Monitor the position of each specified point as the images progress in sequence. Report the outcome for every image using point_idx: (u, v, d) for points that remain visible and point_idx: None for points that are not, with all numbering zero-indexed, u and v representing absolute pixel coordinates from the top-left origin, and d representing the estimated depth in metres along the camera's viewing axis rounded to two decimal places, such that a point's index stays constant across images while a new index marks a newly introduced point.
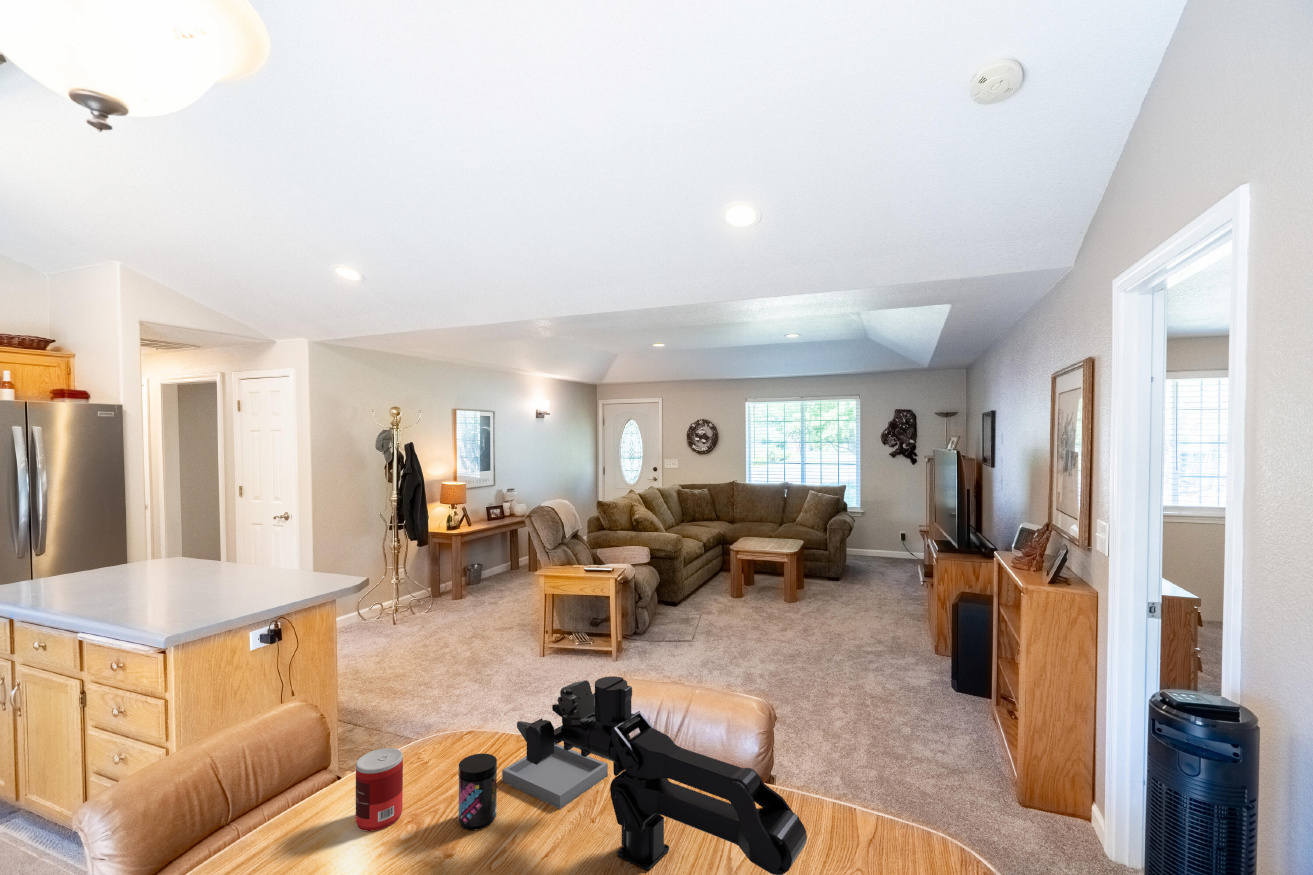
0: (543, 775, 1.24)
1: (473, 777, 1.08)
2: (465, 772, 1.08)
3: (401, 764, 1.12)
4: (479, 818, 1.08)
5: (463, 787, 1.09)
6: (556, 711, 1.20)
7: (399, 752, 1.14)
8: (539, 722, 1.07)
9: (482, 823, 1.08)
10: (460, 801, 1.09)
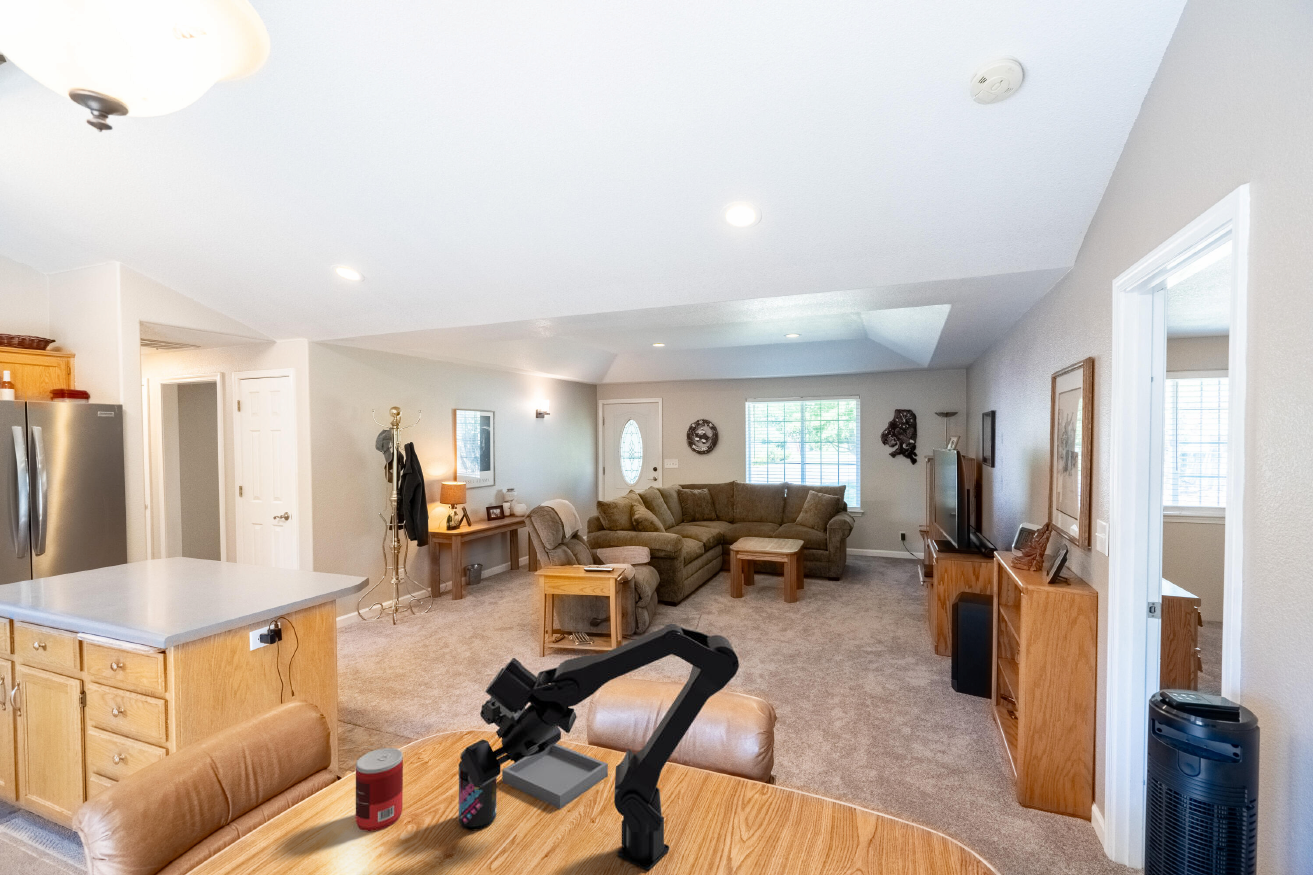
0: (543, 775, 1.24)
1: None
2: (465, 772, 1.08)
3: (401, 764, 1.12)
4: (479, 818, 1.08)
5: (463, 787, 1.09)
6: None
7: (399, 752, 1.14)
8: None
9: (482, 823, 1.08)
10: (460, 801, 1.09)
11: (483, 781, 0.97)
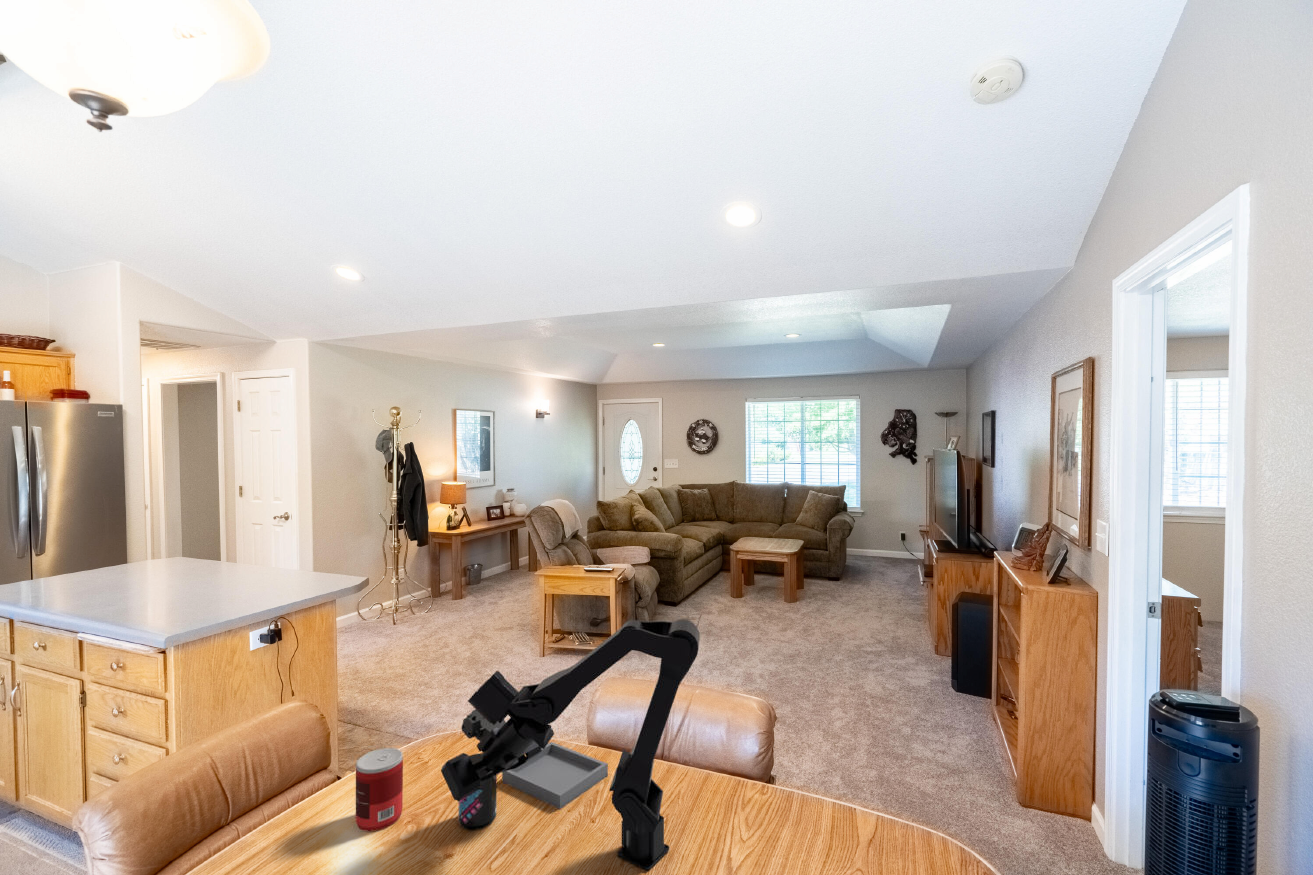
0: (543, 775, 1.24)
1: None
2: None
3: (401, 764, 1.12)
4: (479, 818, 1.08)
5: None
6: None
7: (399, 752, 1.14)
8: None
9: (482, 823, 1.08)
10: (460, 801, 1.09)
11: (462, 794, 1.00)
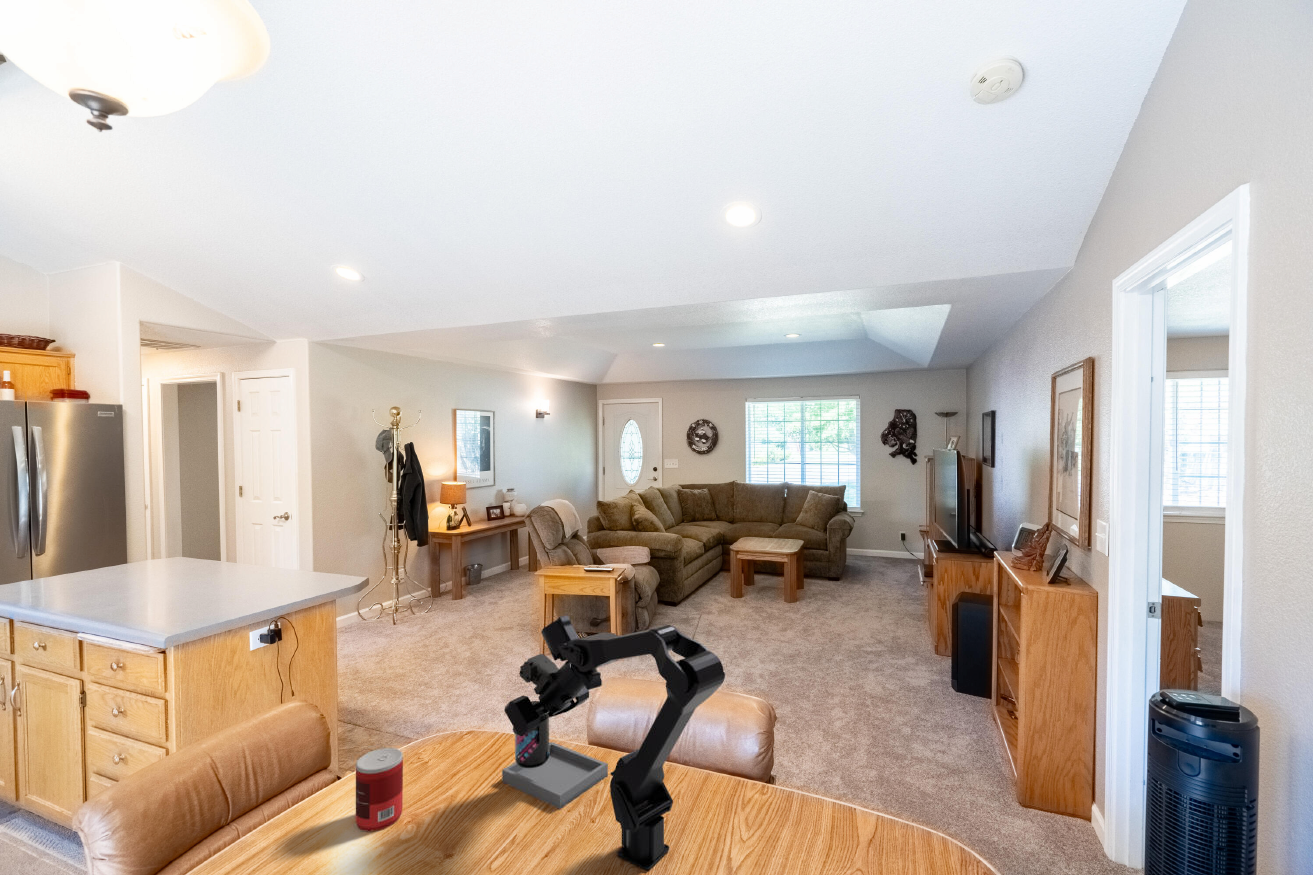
0: (543, 775, 1.24)
1: None
2: None
3: (401, 764, 1.12)
4: (535, 757, 1.18)
5: None
6: None
7: (399, 752, 1.14)
8: None
9: (538, 762, 1.19)
10: (517, 742, 1.19)
11: (526, 730, 1.10)
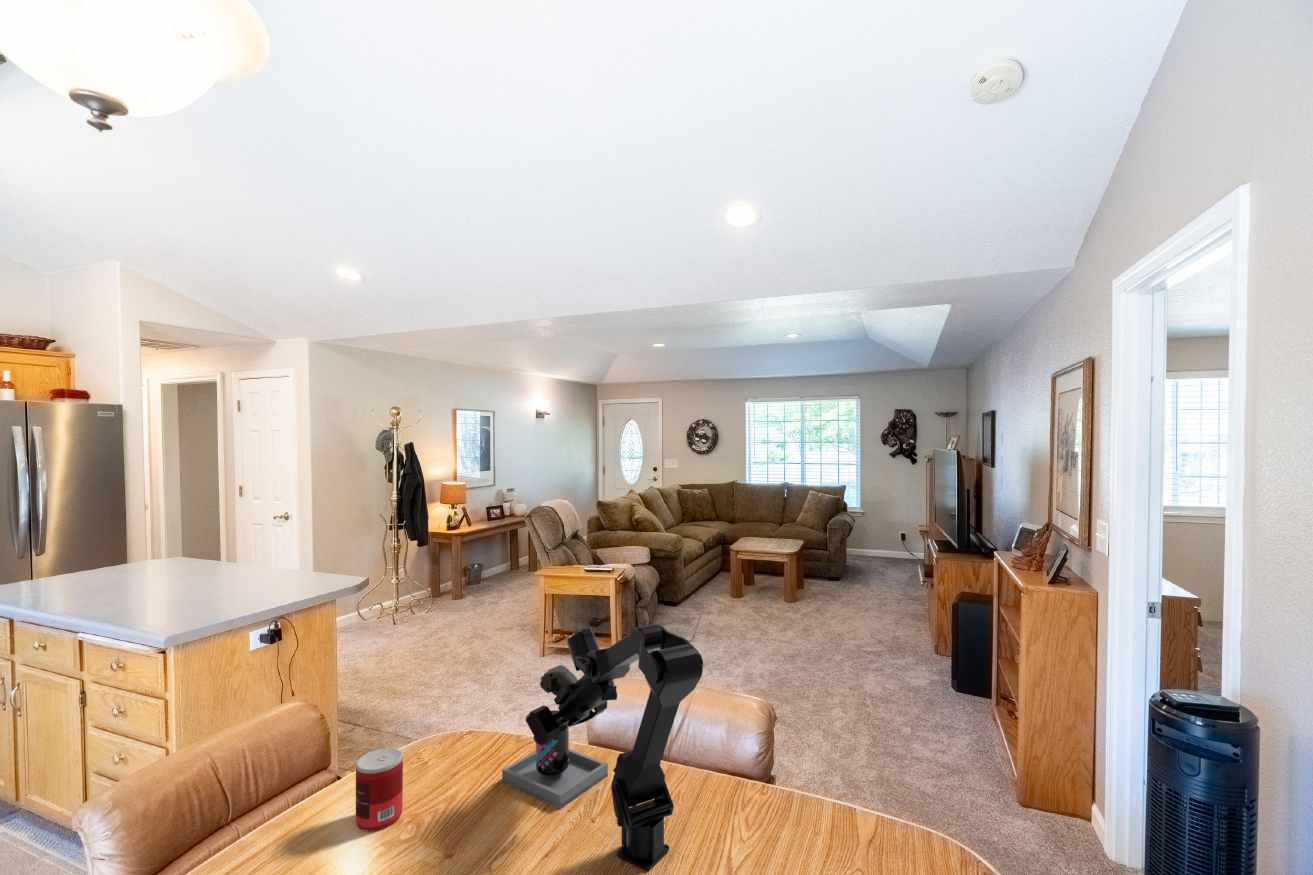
0: (543, 775, 1.24)
1: None
2: None
3: (401, 764, 1.12)
4: (555, 765, 1.22)
5: None
6: None
7: (399, 752, 1.14)
8: None
9: (558, 770, 1.22)
10: (538, 750, 1.23)
11: (546, 739, 1.14)
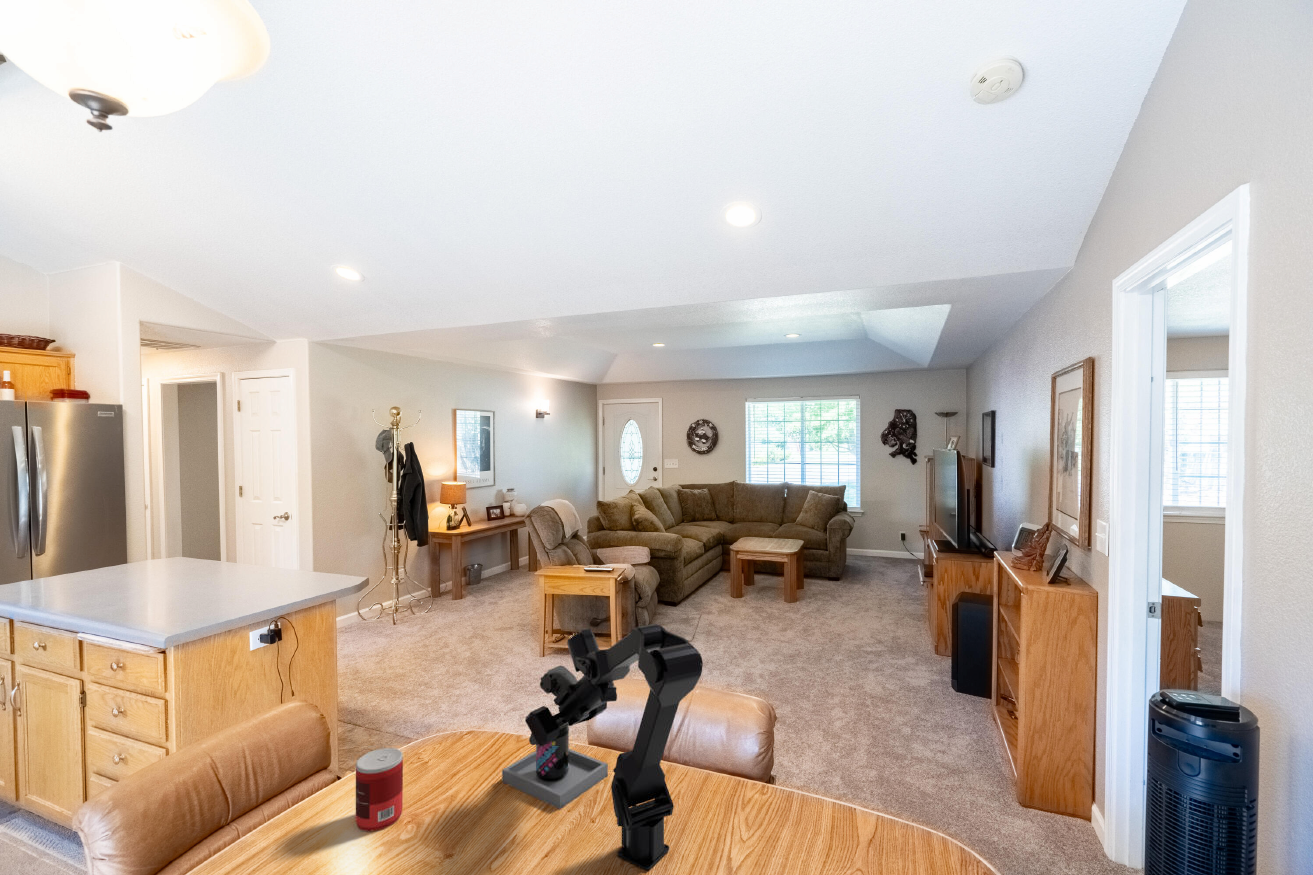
0: None
1: None
2: None
3: (401, 764, 1.12)
4: (555, 771, 1.22)
5: None
6: None
7: (399, 752, 1.14)
8: None
9: (558, 775, 1.22)
10: (538, 756, 1.23)
11: (546, 740, 1.14)
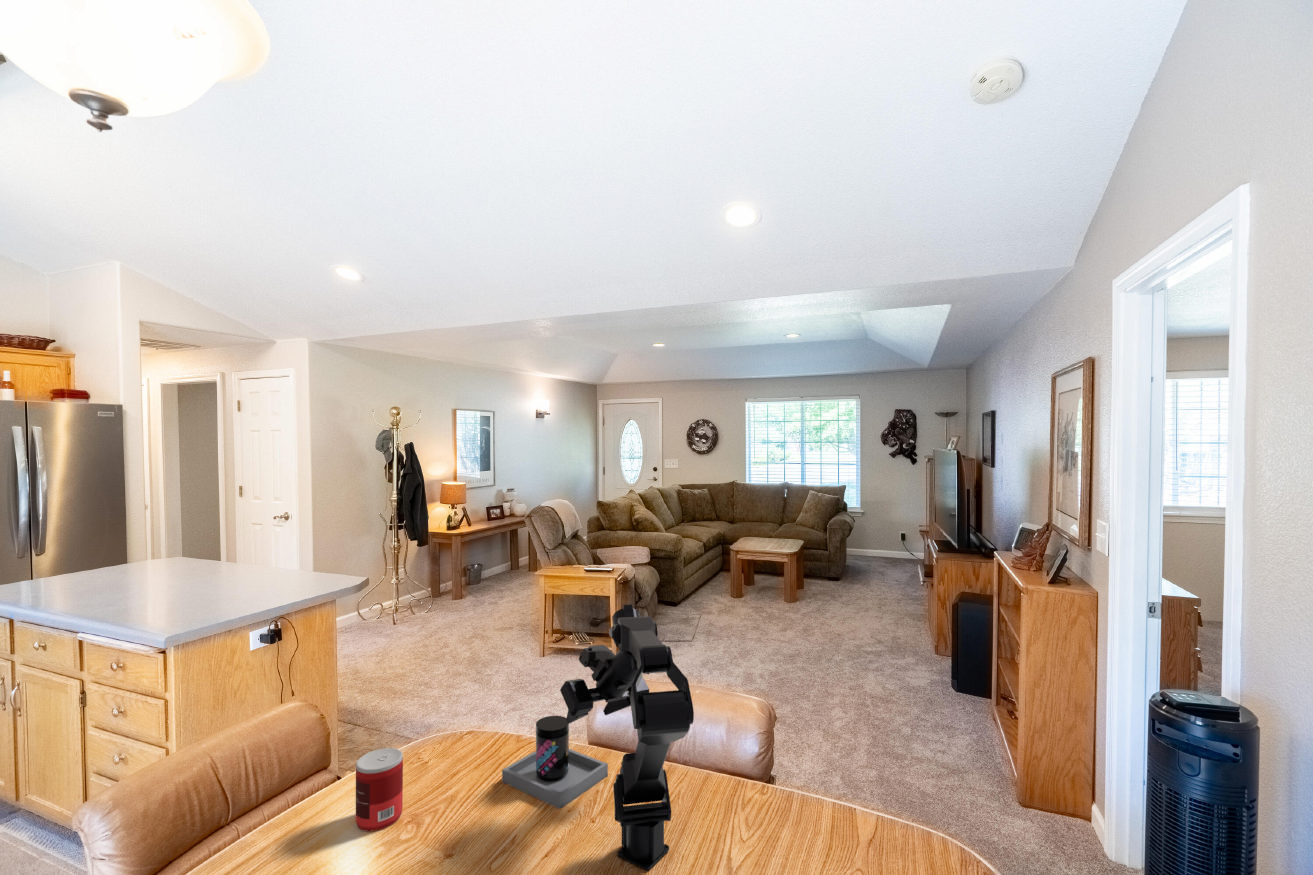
0: None
1: (550, 734, 1.22)
2: (543, 730, 1.22)
3: (401, 764, 1.12)
4: (555, 771, 1.22)
5: (541, 744, 1.23)
6: (607, 711, 1.24)
7: (399, 752, 1.14)
8: None
9: (558, 775, 1.22)
10: (538, 756, 1.23)
11: (578, 709, 1.11)
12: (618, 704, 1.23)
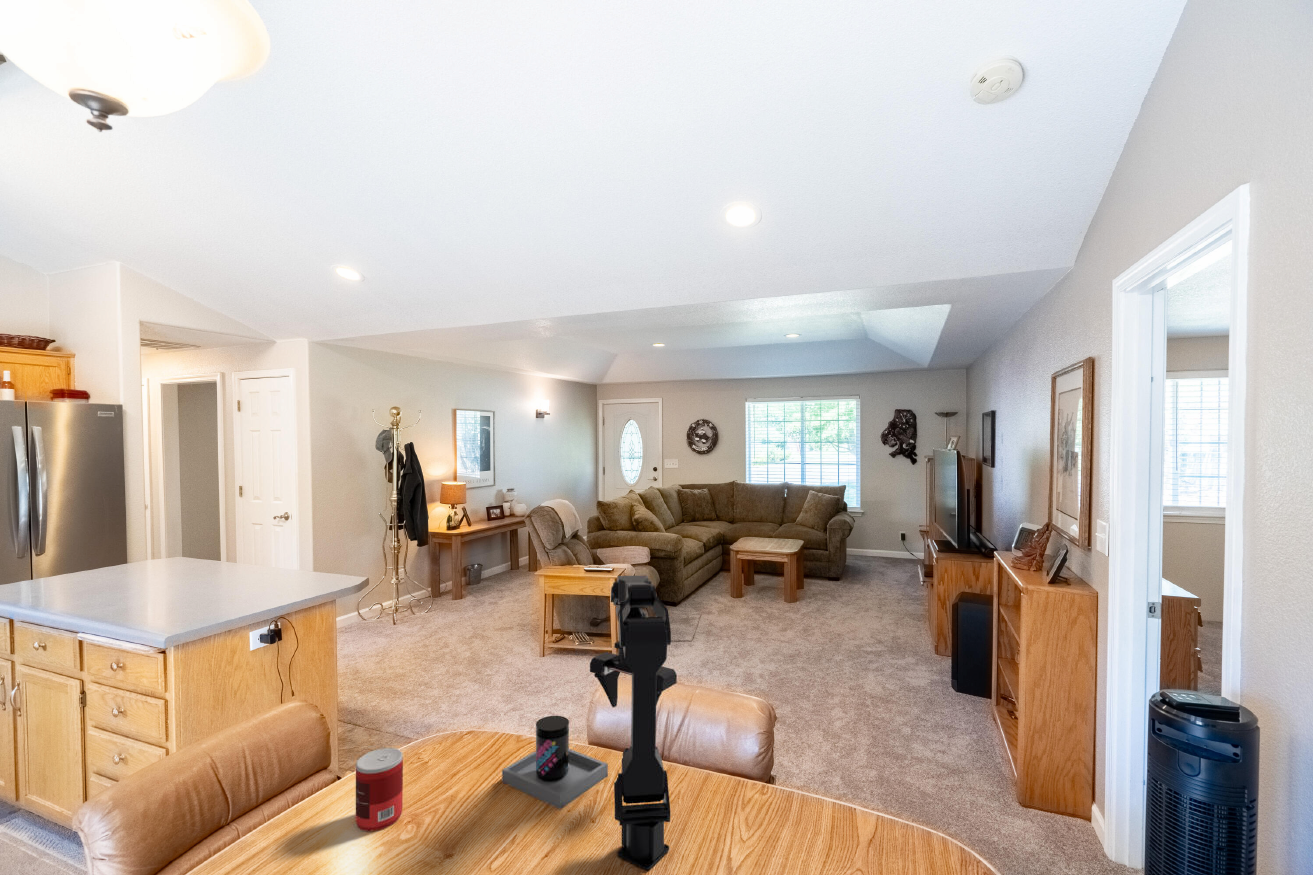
0: None
1: (550, 734, 1.22)
2: (543, 730, 1.22)
3: (401, 764, 1.12)
4: (555, 771, 1.22)
5: (541, 744, 1.23)
6: None
7: (399, 752, 1.14)
8: None
9: (558, 775, 1.22)
10: (538, 756, 1.23)
11: (590, 662, 1.29)
12: None
